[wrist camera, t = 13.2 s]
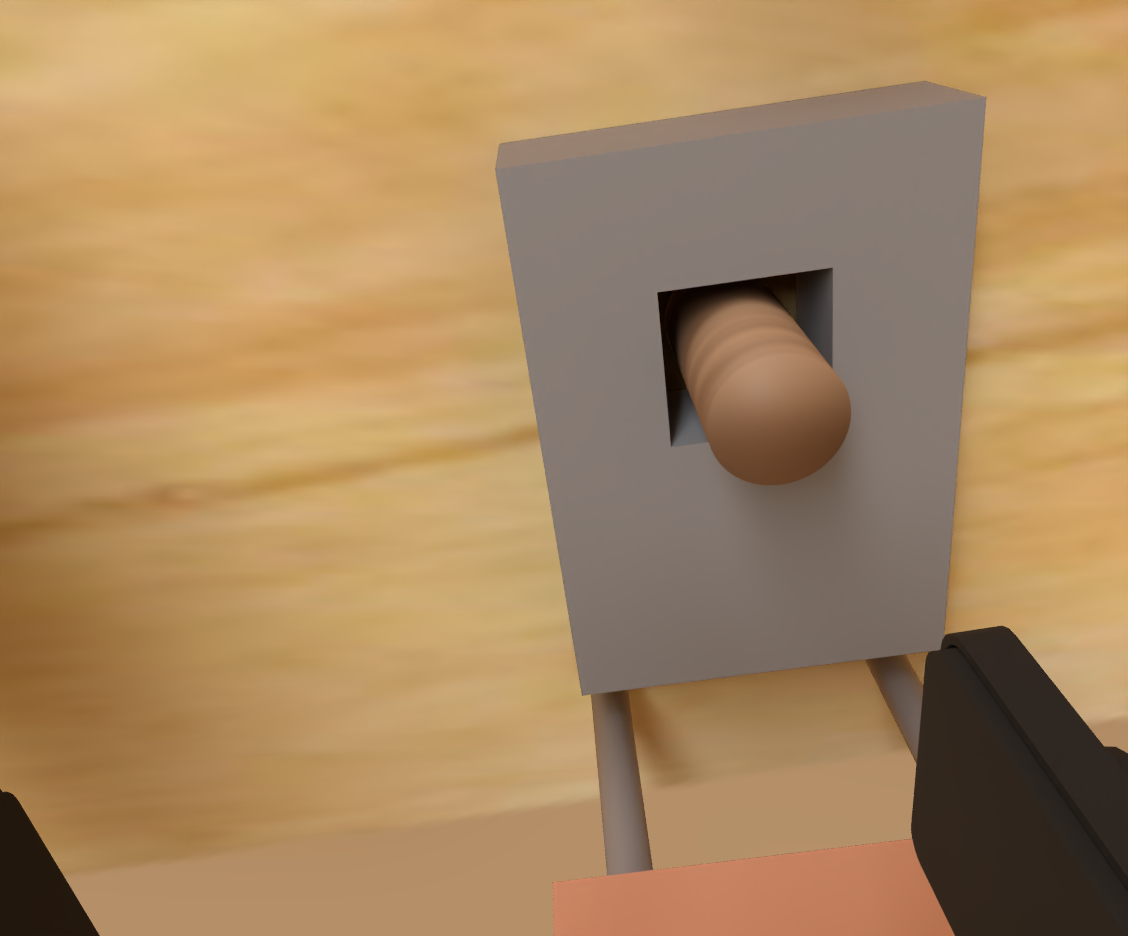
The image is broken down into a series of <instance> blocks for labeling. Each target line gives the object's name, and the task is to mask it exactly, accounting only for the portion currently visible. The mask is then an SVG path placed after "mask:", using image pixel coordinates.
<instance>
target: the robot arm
mask: <svg viewBox="0 0 1128 936" xmlns="http://www.w3.org/2000/svg"><path fill="white" fill-rule="evenodd" d="M911 833H912V840H913V844H914V848H915V852H916V855H917V858H918V860H919V863H920V865H921V867H922V869H923V871H924V873H925V875H926V877H927V879H928V882H929V884H930V886H931V888H932V890H933V892H934V894H935V896H936V898H937V900H938V902H939V904H940V906H941V908H942V910H943V912H944V914H945V916H946V919H947V921H948V923H949V925H950V927H951V929H952V931H953V933H954V935H955V936H1128V753H1126V752H1124V751H1122V750H1120V749H1119V748H1117V747H1104V746H1103V745H1102V743H1101V742H1100V741H1099V740H1098V738H1097V737H1096V736H1095V735H1094V733H1093V732H1092V731H1091V730H1090V728H1089V727H1088V726H1087V724H1086V723H1085V722H1084V721H1083V719H1082V718H1081V717H1080V716H1079V714H1078V713H1077V712H1076V711H1075V709H1074V708H1073V707H1072V706H1071V704H1070V703H1069V702H1068V701H1067V699H1066V698H1065V697H1064V696H1063V694H1062V693H1061V692H1060V690H1059V689H1058V688H1057V687H1056V685H1055V684H1054V683H1053V682H1052V680H1051V679H1050V678H1049V677H1048V675H1047V674H1046V673H1045V672H1044V670H1043V669H1042V668H1041V667H1040V665H1039V664H1038V663H1037V662H1036V660H1035V659H1034V658H1033V656H1032V655H1031V654H1030V653H1029V651H1028V650H1027V649H1026V648H1025V646H1024V645H1023V644H1022V643H1021V641H1020V640H1019V639H1018V638H1017V636H1016V635H1015V634H1014V633H1013V632H1012V631H1011V630H1010V629H1009V628H1006V627H1004V626H997V627H991V628H984V629H978V630H971V631H964V632H958V633H951V634H947V635H945V637H944V638H943V640H942V643H941V648H940V650H936V651H931V652H929V653H928V655H927V657H926V662H925V674H924V685H923V697H922V708H921V720H920V731H919V743H918V754H917V766H916V777H915V788H914V801H913V811H912V823H911ZM0 936H99V934H98V932H97V931H96V929H95V927H94V926H93V924H92V922H91V921H90V919H89V917H88V916H87V914H86V912H85V911H84V909H83V907H82V906H81V904H80V902H79V901H78V899H77V897H76V896H75V894H74V892H73V891H72V889H71V888H70V886H69V884H68V882H67V881H66V879H65V878H64V876H63V874H62V873H61V871H60V869H59V868H58V866H57V864H56V863H55V861H54V859H53V858H52V856H51V854H50V853H49V851H48V849H47V848H46V846H45V844H44V843H43V841H42V839H41V838H40V836H39V834H38V833H37V831H36V829H35V828H34V826H33V824H32V823H31V821H30V819H29V818H28V816H27V814H26V813H25V811H24V809H23V808H22V806H21V804H20V803H19V801H18V800H17V798H16V797H15V796H14V795H13V794H11V793H9V792H2V790H1V789H0Z"/></svg>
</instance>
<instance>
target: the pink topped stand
mask: <svg viewBox="0 0 1128 936" xmlns="http://www.w3.org/2000/svg"><path fill="white" fill-rule="evenodd" d="M865 660H866V662H867V664H868V666H869V668H870V670H871V673H872V675H873V677H874V679H875V681H876V683H877V685H878V687H879V689H880V691H881V693H882V695H883V697H884V699H885V701H886V703H887V705H888V707H889V709H890V711H891V713H892V715H893V717H894V719H895V721H896V723H897V725H898V727H899V729H900V731H901V733H902V735H903V737H904V739H905V741H906V743H907V745H908V747H909V749H910V751H911V753H912V755H913V757H914V760H915V762H916V764H917V754H918V743H919V731H920V720H921V708H922V697H923V686H922V684H921V682H920V680H919V678H918V677H917V675H916V673H915V671H914V669H913V668H912V666H911V664H910V662H909V660H908V659H907V657H906V655H905V654H904V655H896V656H888V657H880V658H873V659H865ZM591 699H592V710H593V721H594V732H595V743H596V755H597V766H598V777H599V788H600V799H601V810H602V822H603V832H604V843H605V855H606V865H607V866H606V867H607V876H600V877H592V878H584V879H576V880H568V881H559V882H553V917H554V936H955V935H954V933H953V931H952V929H951V927H950V925H949V923H948V921H947V919H946V916H945V914H944V912H943V910H942V908H941V906H940V904H939V902H938V900H937V898H936V896H935V894H934V892H933V890H932V888H931V886H930V884H929V882H928V879H927V877H926V875H925V873H924V871H923V869H922V867H921V865H920V863H919V860H918V858H917V855H916V852H915V848H914V844H913V840H912V839H906V840H898V841H889V842H882V843H873V844H865V845H856V846H848V847H840V848H832V849H823V850H815V851H807V852H799V853H791V854H782V855H774V856H765V857H757V858H749V859H741V860H732V861H724V862H716V863H708V864H699V865H692V866H683V867H675V868H666V869H658V870H653V868H652V860H651V854H650V846H649V839H648V832H647V825H646V818H645V811H644V803H643V796H642V789H641V782H640V775H639V768H638V761H637V754H636V747H635V739H634V732H633V725H632V718H631V711H630V704H629V697H628V690H622V691H614V692H606V693H598V694H591Z"/></svg>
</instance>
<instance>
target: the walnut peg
mask: <svg viewBox="0 0 1128 936" xmlns="http://www.w3.org/2000/svg"><path fill="white" fill-rule="evenodd" d="M664 325H665V332H666V335H667V338H668V341H669V343H670V346H671V348H672V351H673V353H674V356H675V358H676V361H677V364H678V366H679V369H680V371H681V374H682V376H683V379H684V381H685V384H686V386H687V389H688V391H689V394H690V397H691V399H692V402H693V404H694V407H695V409H696V412H697V414H698V417H699V419H700V422H701V424H702V427H703V430H704V432H705V435H706V437H707V440H708V442H709V445H710V447H711V450H712V452H713V454H714V456H715V457H716V459H717V460H718V462H719V463H720V464H721V465H722V466H723V467H724V468H725V469H726V470H727V471H728V472H729V473H731V474H732V475H734V476H736V477H737V478H739V479H742V480H744V481H746V482H750V483H753V484H759V485H782V484H787V483H792V482H795V481H798V480H801V479H803V478H805V477H807V476H809V475H811V474H813V473H814V472H816V471H818V470H819V469H820V468H822V467H823V466H824V465H825V464H826V463H827V462H829V461H830V460H831V459H832V457H833V456H834V455H835V454H836V453H837V451H838V450H839V448H840V447H841V445H842V444H843V442H844V440H845V438H846V435H847V433H848V430H849V426H850V421H851V403H850V398H849V394H848V392H847V389H846V387H845V385H844V383H843V382H842V380H841V379H840V378H839V376H838V375H837V374H836V373H835V371H834V370H833V369H832V367H831V366H830V365H829V364H828V362H827V361H826V360H825V359H824V357H823V356H822V355H821V353H820V352H819V351H818V350H817V348H816V347H815V346H814V345H813V343H812V342H811V341H810V340H809V338H808V337H807V336H806V334H805V333H804V332H803V331H802V329H801V328H800V327H799V326H798V324H797V323H796V322H795V320H794V319H793V318H792V317H791V315H790V314H789V313H788V312H787V310H786V309H785V308H784V307H783V305H782V304H781V303H780V301H779V300H778V299H777V298H776V296H775V295H774V294H773V293H772V291H771V290H770V289H769V287H768V286H767V285H766V284H765V282H764V281H763V280H762V279H761V278H756V279H749V280H741V281H734V282H727V283H720V284H713V285H706V286H699V287H692V288H685V289H678V290H674V291H673V292H672V294H671V296H670V298H669V300H668V303H667V306H666V310H665V317H664Z"/></svg>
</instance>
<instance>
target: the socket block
mask: <svg viewBox="0 0 1128 936" xmlns="http://www.w3.org/2000/svg"><path fill="white" fill-rule="evenodd" d="M985 108H986V97H983V96H980V95H976V94H972V93H968V92H965V91H961V90H957V89H953V88H950V87H946V86H942V85H938V84H935V83H931V82H927V81H922V82H916V83H909V84H902V85H895V86H888V87H882V88H875V89H868V90H861V91H854V92H848V93H841V94H834V95H827V96H821V97H814V98H807V99H800V100H793V101H787V102H780V103H773V104H766V105H760V106H753V107H746V108H739V109H732V110H726V111H719V112H712V113H705V114H699V115H692V116H685V117H678V118H671V119H665V120H658V121H651V122H644V123H637V124H631V125H624V126H617V127H610V128H604V129H597V130H590V131H583V132H576V133H570V134H563V135H556V136H549V137H543V138H536V139H529V140H522V141H515V142H509V143H502V144H499V150H498V156H497V162H496V168H495V170H496V176H497V182H498V188H499V195H500V201H501V207H502V213H503V219H504V225H505V231H506V237H507V243H508V249H509V255H510V261H511V267H512V273H513V279H514V286H515V292H516V298H517V304H518V310H519V316H520V322H521V328H522V334H523V340H524V346H525V352H526V358H527V364H528V371H529V377H530V383H531V389H532V395H533V401H534V407H535V413H536V419H537V425H538V431H539V437H540V443H541V449H542V456H543V462H544V468H545V474H546V480H547V486H548V492H549V498H550V504H551V510H552V516H553V522H554V528H555V534H556V540H557V547H558V553H559V559H560V565H561V571H562V577H563V583H564V589H565V595H566V601H567V607H568V613H569V619H570V625H571V632H572V638H573V644H574V650H575V656H576V662H577V668H578V674H579V680H580V686H581V692H582V696H583V695H591V694H598V693H606V692H614V691H622V690H630V689H638V688H645V687H653V686H661V685H669V684H677V683H685V682H692V681H700V680H708V679H716V678H724V677H732V676H739V675H747V674H755V673H763V672H771V671H779V670H786V669H794V668H802V667H810V666H818V665H826V664H833V663H841V662H849V661H857V660H865V659H873V658H880V657H888V656H896V655H904V654H912V653H920V652H928V651H935V650H940V648H941V643H942V640H943V638H944V629H945V617H946V604H947V591H948V579H949V566H950V553H951V540H952V528H953V515H954V502H955V489H956V477H957V464H958V451H959V439H960V426H961V413H962V400H963V388H964V375H965V362H966V350H967V337H968V324H969V311H970V299H971V286H972V273H973V260H974V248H975V235H976V222H977V210H978V197H979V184H980V171H981V159H982V146H983V133H984V120H985ZM791 273H796V322H797V324H798V326H799V327H800V328H801V329H802V331H803V332H804V333H805V334H806V336H807V337H808V338H809V340H810V341H811V342H812V343H813V345H814V346H815V347H816V348H817V350H818V351H819V352H820V353H821V355H822V356H823V357H824V359H825V360H826V361H827V362H828V364H829V365H830V366H831V367H832V369H833V370H834V371H835V373H836V374H837V375H838V376H839V378H840V379H841V380H842V382H843V383H844V385H845V387H846V389H847V392H848V394H849V398H850V403H851V421H850V426H849V430H848V433H847V435H846V438H845V440H844V442H843V444H842V445H841V447H840V448H839V450H838V451H837V453H836V454H835V455H834V456H833V457H832V459H831V460H830V461H829V462H827V463H826V464H825V465H824V466H823V467H822V468H820V469H819V470H818V471H816V472H814V473H813V474H811V475H809V476H807V477H805V478H803V479H801V480H798V481H795V482H792V483H787V484H782V485H759V484H753V483H750V482H746V481H744V480H742V479H739V478H737V477H736V476H734V475H732V474H731V473H729V472H728V471H727V470H726V469H725V468H724V467H723V466H722V465H721V464H720V463H719V462H718V460H717V459H716V457H715V456H714V454H713V452H712V450H711V447H710V445H709V442H708V440H707V437H706V435H705V432H704V430H703V427H702V424H701V422H700V419H699V417H698V414H697V412H696V409H695V407H694V404H693V402H692V399H691V397H690V394H689V391H688V389H684V390H677V391H669V392H666V385H665V374H664V362H663V351H662V340H661V329H660V318H659V306H658V295H657V292H664V291H671V290H678V289H685V288H692V287H699V286H706V285H713V284H720V283H727V282H734V281H741V280H749V279H756V278H763V277H770V276H777V275H784V274H791Z"/></svg>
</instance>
